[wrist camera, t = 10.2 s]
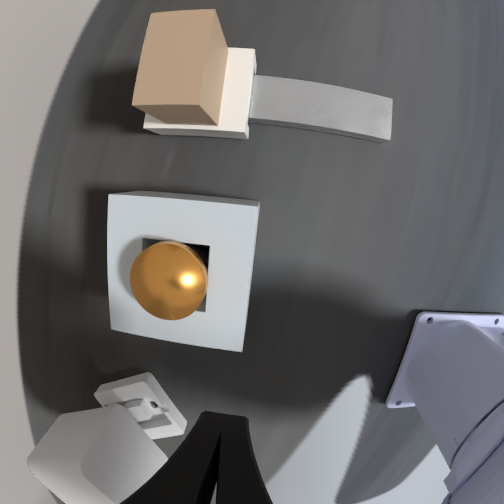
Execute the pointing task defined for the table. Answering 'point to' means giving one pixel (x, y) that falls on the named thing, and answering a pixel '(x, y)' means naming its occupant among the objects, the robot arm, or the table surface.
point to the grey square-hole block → (187, 231)
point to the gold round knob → (170, 279)
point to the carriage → (193, 77)
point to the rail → (320, 108)
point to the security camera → (108, 443)
